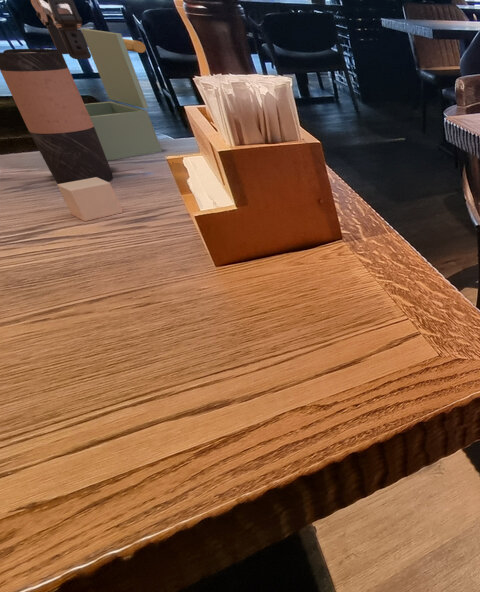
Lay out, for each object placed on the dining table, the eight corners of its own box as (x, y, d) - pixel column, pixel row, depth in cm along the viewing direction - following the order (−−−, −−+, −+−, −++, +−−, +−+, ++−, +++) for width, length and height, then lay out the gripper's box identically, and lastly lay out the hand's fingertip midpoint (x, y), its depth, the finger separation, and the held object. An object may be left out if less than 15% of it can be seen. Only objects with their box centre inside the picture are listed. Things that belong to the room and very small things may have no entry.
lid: (115, 33, 90) (151, 33, 94) (80, 28, 97) (115, 28, 101) (143, 108, 96) (176, 104, 100) (109, 99, 103) (140, 96, 107)
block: (84, 221, 73) (69, 190, 71) (71, 214, 75) (56, 184, 73) (123, 212, 76) (110, 182, 74) (109, 206, 78) (96, 176, 76)
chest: (89, 170, 92) (66, 119, 88) (57, 157, 99) (34, 108, 95) (164, 157, 101) (147, 110, 97) (130, 146, 108) (112, 101, 103)
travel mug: (124, 180, 89) (70, 51, 79) (66, 191, 83) (0, 54, 73) (103, 172, 92) (49, 47, 82) (47, 182, 86) (-19, 49, 77)
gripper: (-31, -81, 69) (31, 53, 77) (-18, -88, 61) (49, 62, 69) (46, -74, 74) (97, 51, 82) (66, -80, 66) (120, 59, 74)
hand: (75, 56), depth 76 cm, fingers open, 8 cm apart
